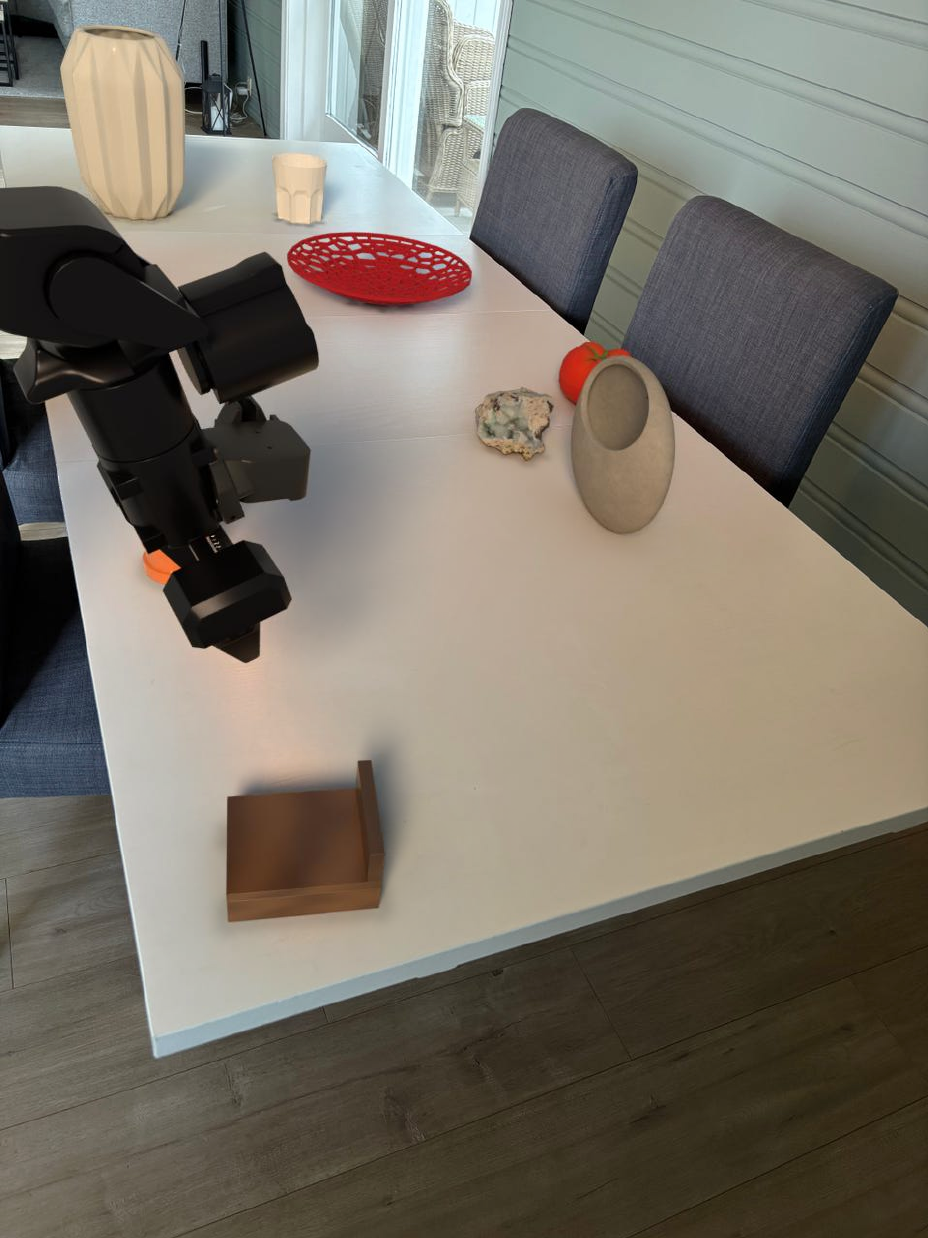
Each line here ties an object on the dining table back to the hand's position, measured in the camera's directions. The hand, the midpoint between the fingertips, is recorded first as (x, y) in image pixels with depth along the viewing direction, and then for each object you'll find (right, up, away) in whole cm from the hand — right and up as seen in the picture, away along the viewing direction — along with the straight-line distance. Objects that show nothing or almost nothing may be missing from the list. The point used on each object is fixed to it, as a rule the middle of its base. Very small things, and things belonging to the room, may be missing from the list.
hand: (227, 616), depth 63 cm
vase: (-43, +74, +102) cm, 133 cm away
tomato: (+34, +30, +65) cm, 80 cm away
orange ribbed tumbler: (-11, +5, +26) cm, 28 cm away
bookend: (+5, -17, +2) cm, 18 cm away
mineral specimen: (+22, +23, +54) cm, 62 cm away
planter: (+32, +11, +42) cm, 54 cm away
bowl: (+2, +53, +86) cm, 101 cm away
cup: (-15, +76, +111) cm, 136 cm away
